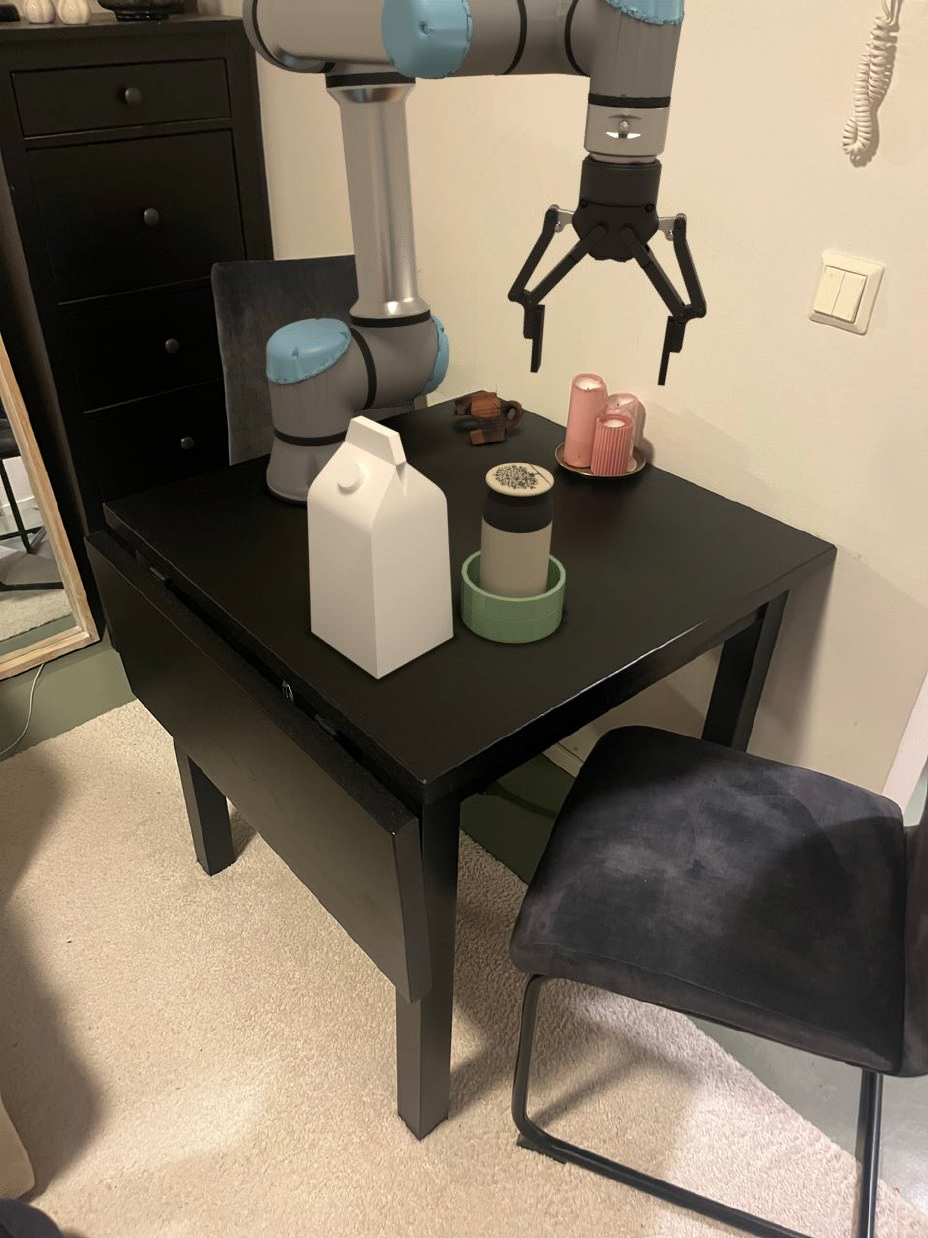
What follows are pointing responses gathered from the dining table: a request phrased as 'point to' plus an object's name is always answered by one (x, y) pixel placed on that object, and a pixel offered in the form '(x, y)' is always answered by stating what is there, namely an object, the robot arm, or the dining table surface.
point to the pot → (511, 606)
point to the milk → (378, 553)
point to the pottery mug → (488, 415)
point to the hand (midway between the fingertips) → (597, 375)
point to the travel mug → (516, 531)
